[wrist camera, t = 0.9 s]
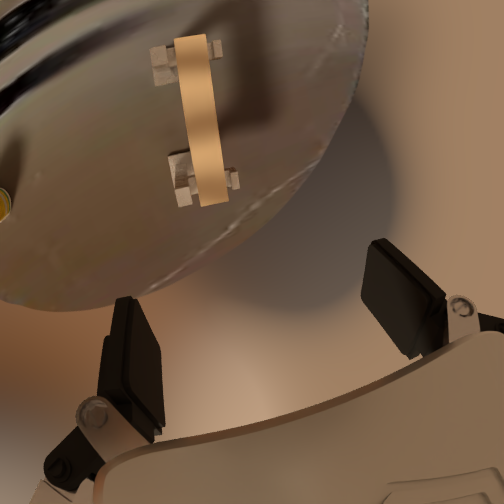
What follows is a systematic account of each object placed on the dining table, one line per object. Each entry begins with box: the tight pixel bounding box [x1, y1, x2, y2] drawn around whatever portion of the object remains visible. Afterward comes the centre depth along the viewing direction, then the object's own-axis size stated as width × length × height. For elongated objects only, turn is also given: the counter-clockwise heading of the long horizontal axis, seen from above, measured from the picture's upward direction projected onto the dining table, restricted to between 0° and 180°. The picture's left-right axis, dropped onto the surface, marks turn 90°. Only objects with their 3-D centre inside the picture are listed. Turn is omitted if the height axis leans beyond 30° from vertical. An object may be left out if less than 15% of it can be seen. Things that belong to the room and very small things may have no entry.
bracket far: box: [168, 151, 240, 207], centre depth 34 cm, size 5×8×11 cm, turn 96°
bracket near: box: [150, 40, 223, 87], centre depth 26 cm, size 5×8×11 cm, turn 96°
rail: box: [174, 34, 229, 207], centre depth 27 cm, size 18×3×3 cm, turn 6°
